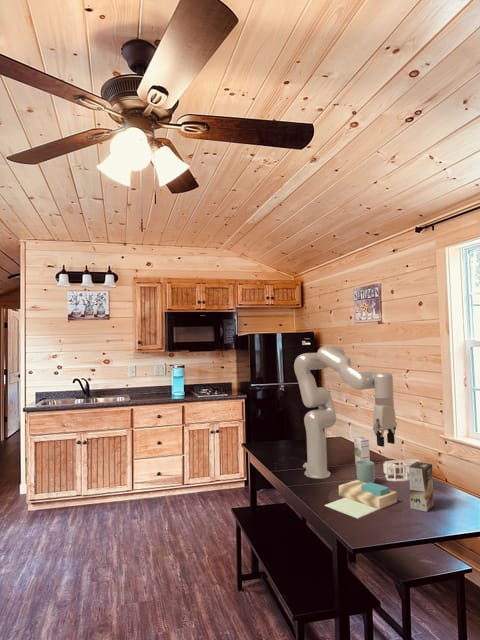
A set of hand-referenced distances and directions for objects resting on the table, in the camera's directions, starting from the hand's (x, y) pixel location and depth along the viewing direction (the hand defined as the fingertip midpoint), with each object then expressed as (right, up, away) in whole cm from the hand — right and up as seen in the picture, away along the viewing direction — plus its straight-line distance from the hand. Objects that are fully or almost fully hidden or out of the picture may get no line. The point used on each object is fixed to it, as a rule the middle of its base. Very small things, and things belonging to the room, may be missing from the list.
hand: (385, 444), depth 179 cm
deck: (-9, -22, -3) cm, 24 cm away
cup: (-4, -23, +14) cm, 27 cm away
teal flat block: (-6, -17, -6) cm, 20 cm away
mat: (-18, -21, -13) cm, 31 cm away
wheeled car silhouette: (+17, -23, +24) cm, 37 cm away
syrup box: (+3, -24, +43) cm, 49 cm away
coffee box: (+10, -21, -13) cm, 27 cm away
